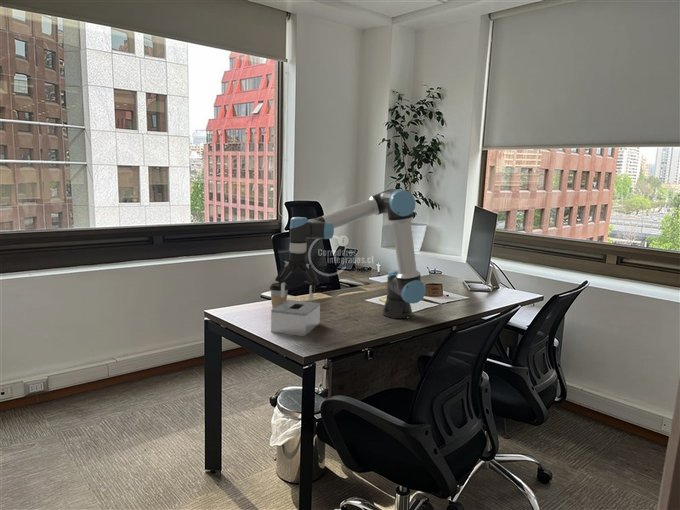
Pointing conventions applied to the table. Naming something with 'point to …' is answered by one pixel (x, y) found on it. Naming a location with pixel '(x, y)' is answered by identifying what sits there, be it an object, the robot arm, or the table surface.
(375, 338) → the table surface
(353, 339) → the table surface
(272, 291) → the coffee cup
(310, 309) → the box
